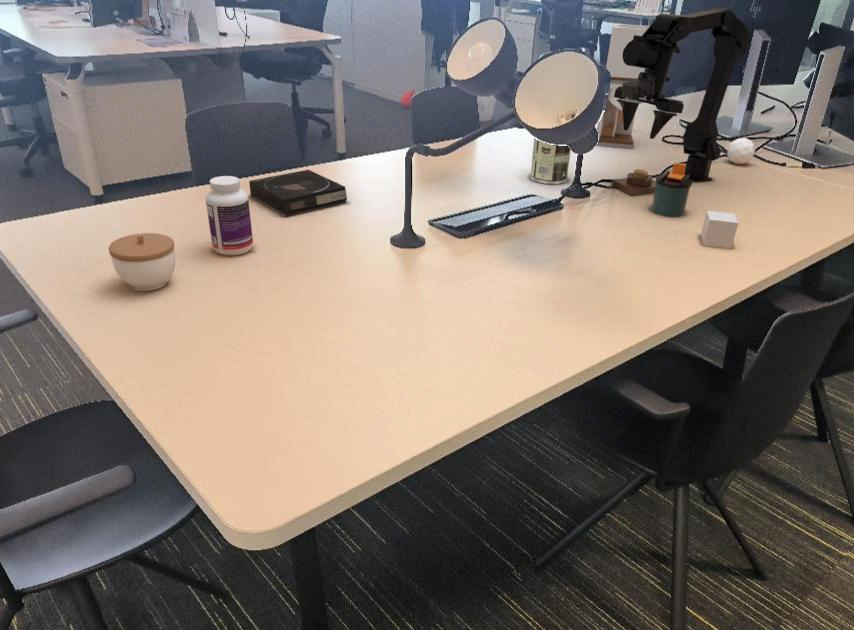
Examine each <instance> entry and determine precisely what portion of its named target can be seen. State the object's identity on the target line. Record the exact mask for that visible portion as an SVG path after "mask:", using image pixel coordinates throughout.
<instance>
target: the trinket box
mask: <svg viewBox="0 0 854 630" xmlns="http://www.w3.org/2000/svg"><path fill="white" fill-rule="evenodd" d="M108 251H109V255H110V258H111V262H112V265H113V268H114V270H115V273H116V274H117V276H118V277H119V279H121V281H123V283H125V284H126V285H128V286H130V287H131V288H132V290H136V291H139V292H149V291H155V290H158V289H161V288H163V287H165V286H166V285H167V283H168V281H169V280H170V279H171V278H172V276H173V274H174V272H175V269H176V251H175V241H174V240H173V238H171V237H170V236H168V235H167V234H161V233H154V232H146V233H145V232H143V233H133V234H129V235H125V236H121V237H120V238H117V239H115V240H113V241H112V242H111V243H110V244H109V245H108Z"/></svg>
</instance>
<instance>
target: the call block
mask: <svg viewBox="0 0 854 630" xmlns="http://www.w3.org/2000/svg"><path fill="white" fill-rule="evenodd" d="M633 173H634V171H633V172H629V173H627V174H626V177H623V178H614V179H611V183H610V186H611V187H613V188H615V189H617V190H619V191H621V192H623V193H625V194H627V195H629V196H631V197H633V196H642V195H649V194H650V195H651V194H654V192H655V188H656V183H657V182H656V180H654V179H653V178H654V177H653V176H652V175H650V174H647V178H644V179H643V178H636V177H633Z"/></svg>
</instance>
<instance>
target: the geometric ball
mask: <svg viewBox="0 0 854 630" xmlns="http://www.w3.org/2000/svg"><path fill="white" fill-rule="evenodd" d="M755 151H756V147H755V145H754V143H753V141H752V140H750V139H748V138H747V137H740V138H737V139H734V140H732V141H731V142H730V144H729V146H728V148H727V153H726V155H727V157H728V159H729V161H730V162H731V163H733V164H735V165H744V164H747V163H749V162H751V160H752V158H753V157H754V155H755Z"/></svg>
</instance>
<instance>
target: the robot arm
mask: <svg viewBox="0 0 854 630" xmlns="http://www.w3.org/2000/svg"><path fill="white" fill-rule="evenodd" d="M648 26H649V28H648V29H647V30H646V31H645V33H644V34H643V35H642V36H637V35H634V37H633V40H632V41H630V42H629V43H628V44H627V45H626V47H625V48H624V50H623V61H624V63H625V64H626V65H628V66H634V67H640V68H645V70H644V72H640V73H639V76H638V78H637V79H634V80H631V81H628V82H625V83H623V84H622V87H621V86H619V87H618V88H617V89H616V90H615V94H614V97H616V98H619V100H618V99H617V102H619V103H620V105H621V107H622V111H623V126H624V130H626V131H627V130H628V128H629V127H630V125H631V122H632V120H633V117H634V115H635V116H636V113H637V111H638V108H639V105H640V103H639V102H641V103H644V104H647V105H648V104H649V105H652V106H655V108H656V110H655V109H653V110H652V111H653V116H654V119H653V123H652V126H651V129H650V134H649V139H650V140H654V139H655V138H656V136H657V135H658V134H659V133H660V131H661V130H662V129H663V128H664V127H665V126H666V125H667V123H668V122H670V121H671V119H672V118H673V117H677V116H678V114H683V110H684V106H685V105H684V101H682V100H679V99H675V98H670V97H666V94H663V91H664V88H665V85H666V82H669V83H670V80H671V77H670V76H668V75H669V71H670V67H671V63H672V60H673V57H674V54H677V55H678V54H680V53H681V50H680V48H679V46H678V42H681V41H682V40H684V39H686V38H688V36H689V35H690V34H692V33H697V32H701V31H707V30H710V34H711V36H712V39H713V40H714V43H713V48H712V51H713V56H714V63H713V64H714V65H713V68H712V70H711V74H710V76H709V80H708V83H707V86H706V89H705V93H704V96H703V99H702V102H701V105H700V108H699V111H698V115H697V117H696V118H695V119H694V120H693V121H692V122H687V124H686V127H685V131H684V132H683V135H682V138H683V139H682V144H683V146H682V147H683V154H686V155H688V156H687V160H686V161H685V164H686V168H685V173H684V174H685V176H686V175H687V174H689V178H688V179H690V180H692V182H697V183H698V182H704V181H712V180H713V177H711V176H710V171H711V167H712V163H713V162H716V160H719V158H720V155H721V153H722V151H721V148H720V147H719V145H718V142H717V139H718V136H719V129H718V124H717V120H718V117H719V113H720V110H721V107H722V104H723V101H724V98H725V95H726V92H727V89H728V86H729V83H730V80H731V77H732V74H733V71H734V68H735V65H736V64H737V63H738V62H739V61H740V60H741V59H742V58H744V56H745V54H746V53H747V50H748V48H749V46H750V44H751V41H752V35H751V33H750V30H749V28H747V26H746V24H745V23H744V22H743V21H742V20H740V19H739V18H738V17H736V15H735V13H734V11H733V10H731V9H730V8H723V7H714V8H712V9H708V10H702V11H698V12H694V13H689V14H683V15H681V14H673V13H659V14H657V15H656V17H655V19H654V20H653V22H651V24H650V25H648ZM635 101H637V102H635ZM685 176H684V177H685Z"/></svg>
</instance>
